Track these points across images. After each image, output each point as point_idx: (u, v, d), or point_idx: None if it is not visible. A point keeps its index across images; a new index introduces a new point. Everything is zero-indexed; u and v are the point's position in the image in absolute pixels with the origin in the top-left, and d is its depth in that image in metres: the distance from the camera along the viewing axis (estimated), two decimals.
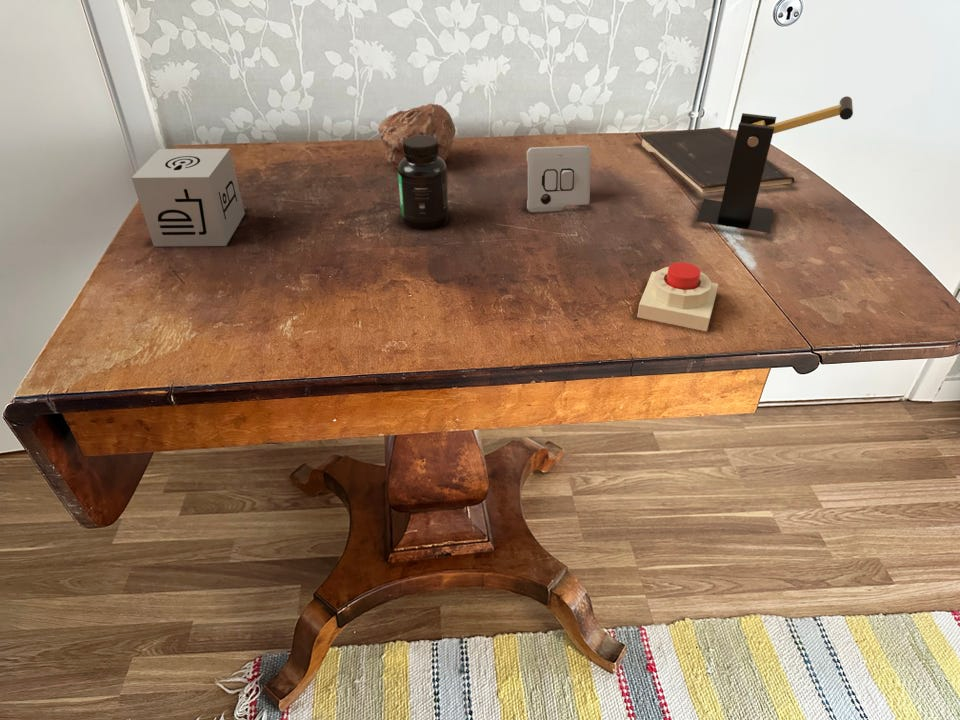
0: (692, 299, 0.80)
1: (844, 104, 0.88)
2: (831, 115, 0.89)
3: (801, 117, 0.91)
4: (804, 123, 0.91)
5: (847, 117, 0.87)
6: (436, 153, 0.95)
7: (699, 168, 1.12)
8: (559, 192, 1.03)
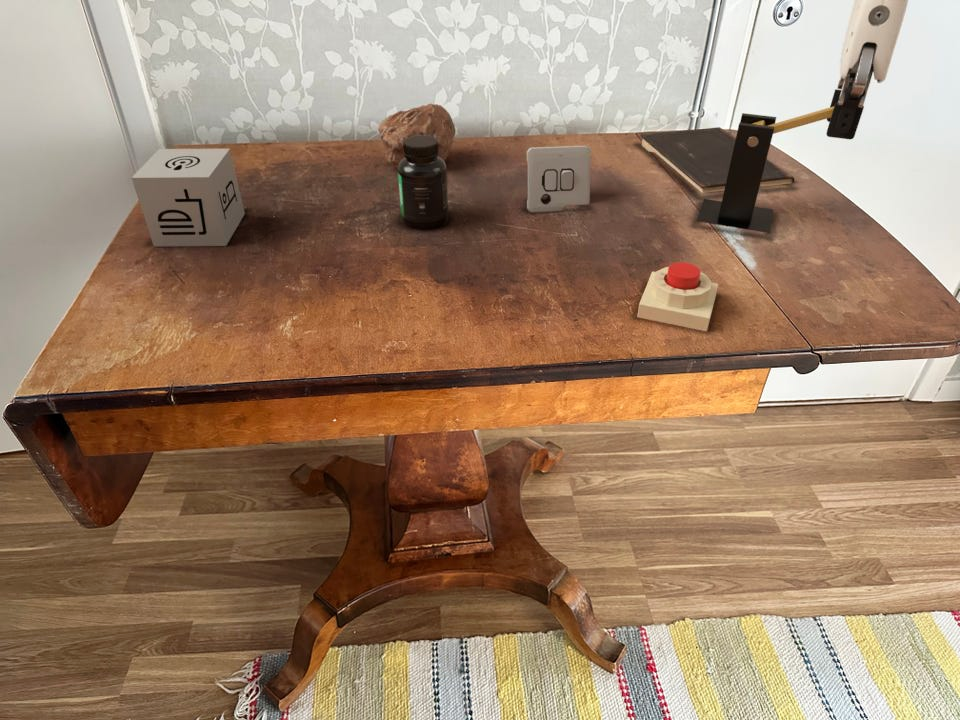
0: (692, 299, 0.80)
1: None
2: (831, 115, 0.89)
3: (801, 117, 0.91)
4: (804, 123, 0.91)
5: None
6: (436, 153, 0.95)
7: (699, 168, 1.12)
8: (559, 192, 1.03)
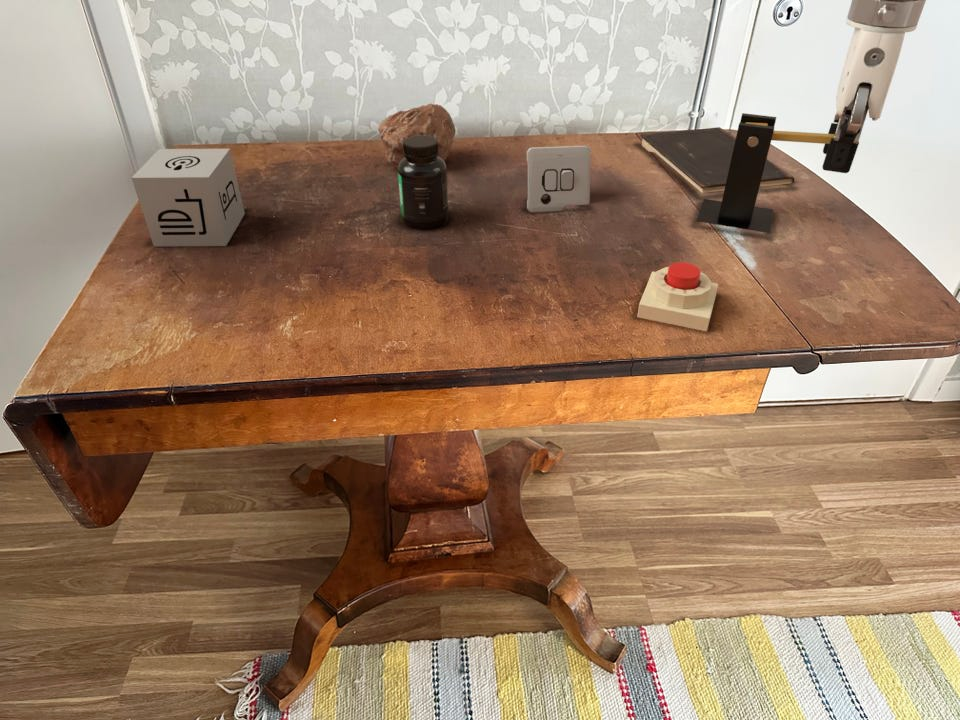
0: (692, 299, 0.80)
1: None
2: (829, 142, 0.91)
3: (802, 134, 0.92)
4: (803, 140, 0.92)
5: None
6: (436, 153, 0.95)
7: (699, 168, 1.12)
8: (559, 192, 1.03)
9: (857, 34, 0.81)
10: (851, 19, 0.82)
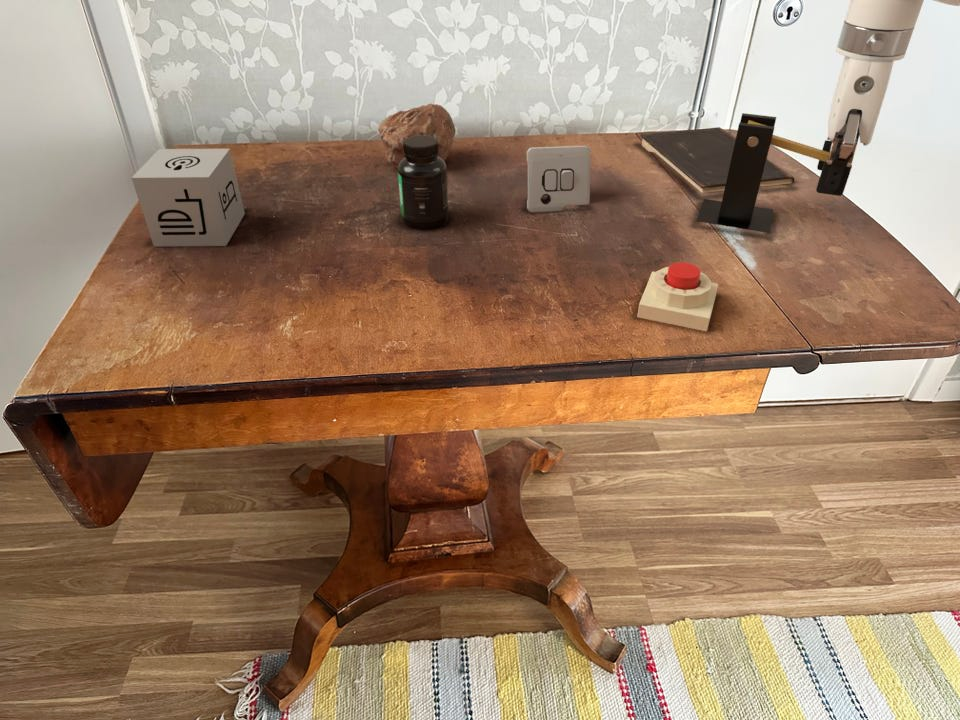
0: (692, 299, 0.80)
1: None
2: (823, 159, 0.92)
3: (800, 145, 0.93)
4: (798, 152, 0.93)
5: None
6: (436, 153, 0.95)
7: (699, 168, 1.12)
8: (559, 192, 1.03)
9: (847, 62, 0.83)
10: (841, 48, 0.84)
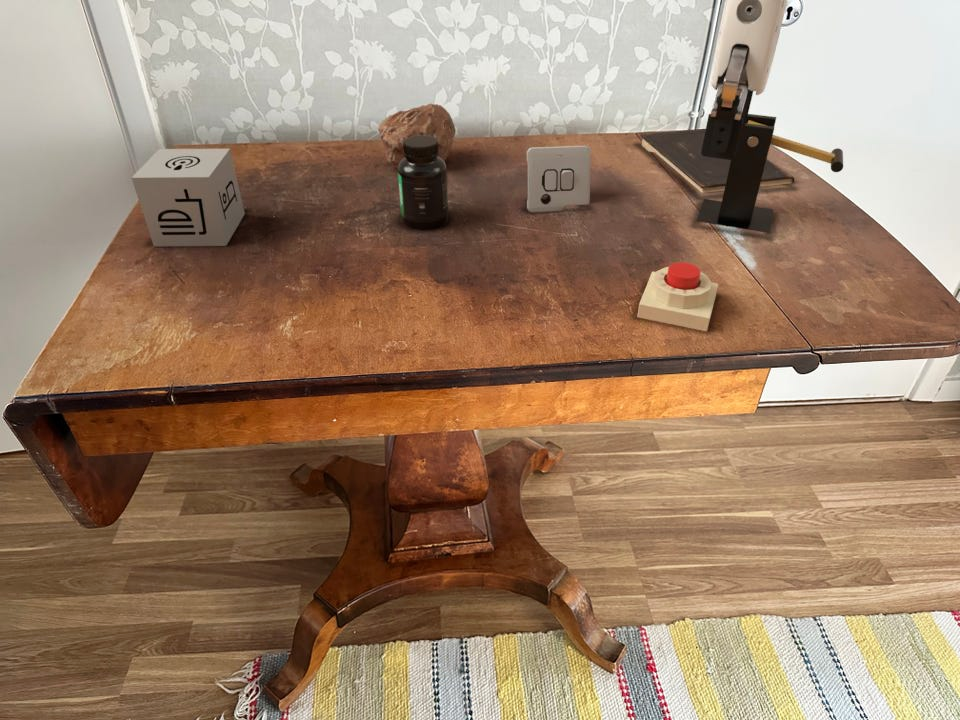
0: (692, 299, 0.80)
1: (839, 157, 0.91)
2: (823, 159, 0.92)
3: (800, 145, 0.93)
4: (798, 152, 0.93)
5: (835, 170, 0.91)
6: (436, 153, 0.95)
7: (699, 168, 1.12)
8: (559, 192, 1.03)
9: None
10: None
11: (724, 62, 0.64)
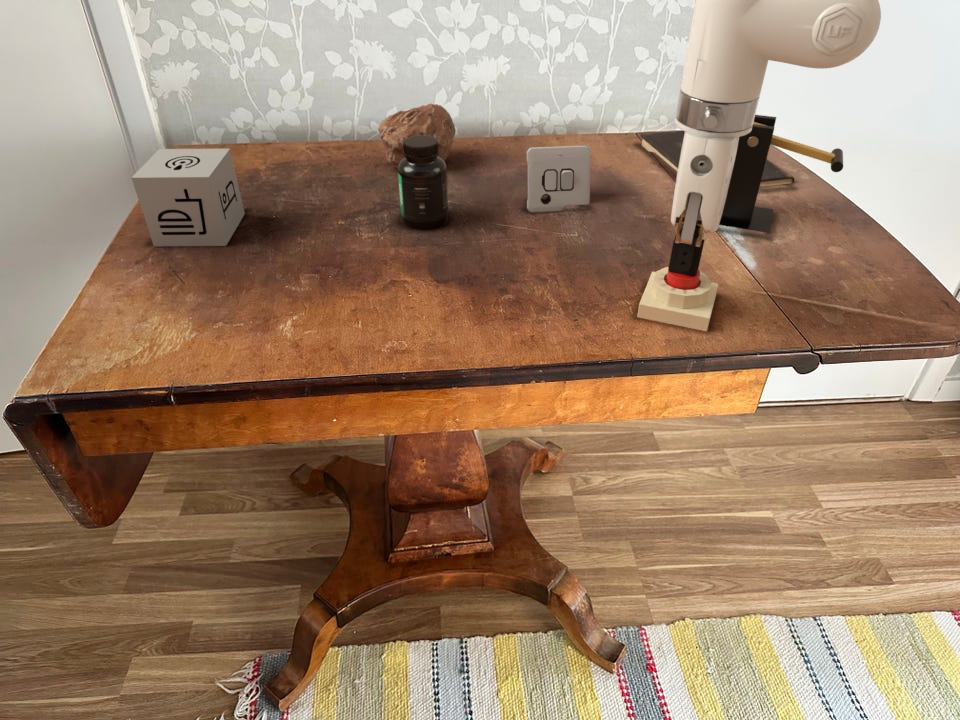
0: (692, 299, 0.80)
1: (839, 157, 0.91)
2: (823, 159, 0.92)
3: (800, 145, 0.93)
4: (798, 152, 0.93)
5: (835, 170, 0.91)
6: (436, 153, 0.95)
7: None
8: (559, 192, 1.03)
9: (684, 137, 0.70)
10: (677, 119, 0.70)
11: (678, 222, 0.74)
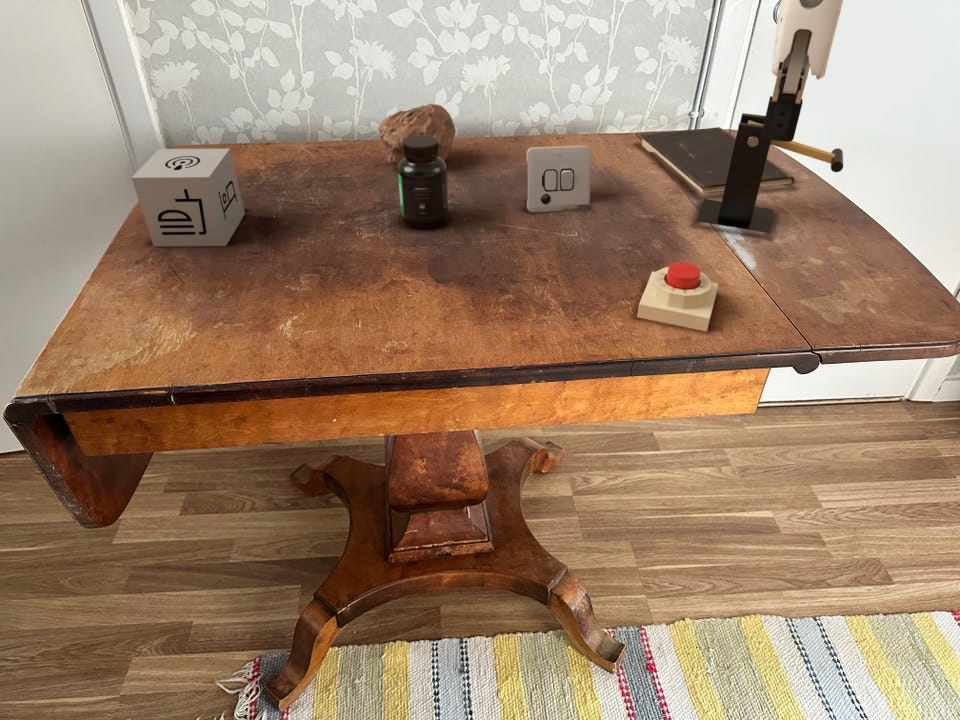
0: (692, 299, 0.80)
1: (839, 157, 0.91)
2: (823, 159, 0.92)
3: (800, 145, 0.93)
4: (798, 152, 0.93)
5: (835, 170, 0.91)
6: (436, 153, 0.95)
7: (699, 168, 1.12)
8: (559, 192, 1.03)
9: None
10: None
11: (781, 71, 0.67)
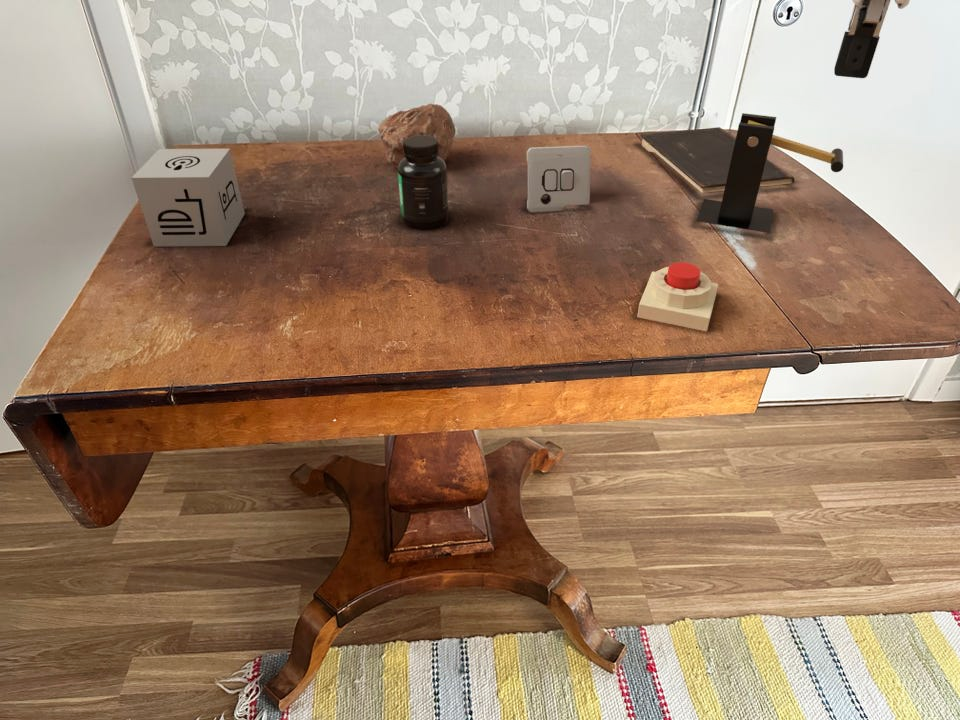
0: (692, 299, 0.80)
1: (839, 157, 0.91)
2: (823, 159, 0.92)
3: (800, 145, 0.93)
4: (798, 152, 0.93)
5: (835, 170, 0.91)
6: (436, 153, 0.95)
7: (699, 168, 1.12)
8: (559, 192, 1.03)
9: None
10: None
11: (863, 0, 0.67)
